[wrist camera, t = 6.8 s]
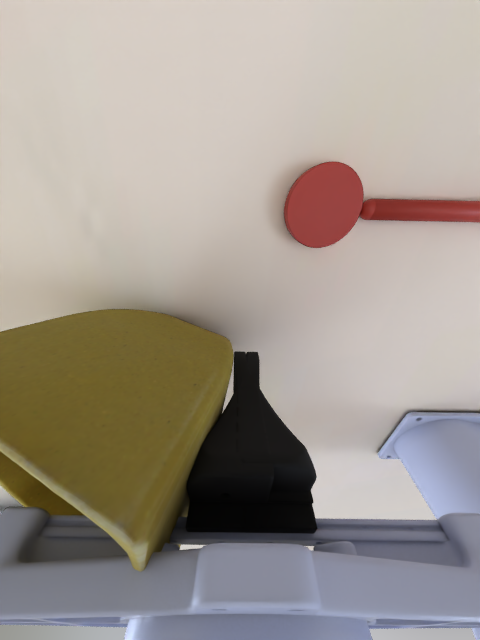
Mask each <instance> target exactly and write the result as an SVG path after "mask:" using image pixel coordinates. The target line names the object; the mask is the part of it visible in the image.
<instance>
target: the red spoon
mask: <svg viewBox="0 0 480 640" xmlns="http://www.w3.org/2000/svg"><path fill="white" fill-rule="evenodd" d="M359 216H360V217H361V218H362V219H364V220H399V221H448V222H480V201H446V200H399V199H369V200H367V201H365V202H364V203H363V187H362V183H361V181H360V178H359V176H358V175H357V173H356V172H355V171H354V170H353V169H352V168H351V167H349V166H348V165H346V164H343V163H340V162H326V163H322V164H319V165H317V166H314V167H312V168H310V169H308V170H307V171H306V172H304V173H303V174H302V175H301V176H300V177H299V178H298V179H297V180H296V181H295V183H294V184H293V185H292V187H291V189H290V191H289V193H288V195H287V198H286V202H285V207H284V218H285V223H286V226H287V229H288V231H289V232H290V234H291V235H292V236H293V237H294V238H295V239H296V240H297V241H298V242H300V243H301V244H303V245H305V246H308V247H313V248H321V247H326V246H329V245H331V244H334V243H336V242H337V241H339V240H340V239H342V238H343V237H344V236H345V235H346V234H347V233H348V232H349V231H350V230H351V229H352V227H353V226H354V225H355V223H356V221H357V219H358V217H359Z"/></svg>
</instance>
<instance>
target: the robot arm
mask: <svg viewBox="0 0 480 640" xmlns="http://www.w3.org/2000/svg"><path fill="white" fill-rule="evenodd" d="M233 390H234V394H233V396H232V398H231V400H230V401H229V403H228V405H227V407H226V408H225V410H224V412H223V413H222V415H221V416H220V418H219V419H218V421H217V422H216V424H215V425H214V427H213V428H212V429H211V431H210V432H209V433H208V435H207V436H206V438H205V440H204V442H203V443H202V445H201V447H200V450H199V452H198V454H197V457H196V459H195V462H194V464H193V467H192V469H191V472H190V475H189V478H188V481H187V492H188V496H189V499H190V503H189V509H188V515H187V517H179V518H178V520H177V523H176V526H175V528H174V529H173V532H172V534H171V536H170V544H169V543H165V544H164V546H163V549H162V551H161V552H154V553H153V554H152V556H151V558H150V560H149V562H148V564H147V566H146V568H145V570H143V571H141V572H140V571H137V570H135V569H134V568H133V566H132V564H131V561H130V559H129V556H128V553H127V552H126V551H125V550H124V549H123V548H122V547H121V546H120V545H119V544H118V543H117V542H116V541H115V540H114V539H113V538H112V537H111V536H110V535H109V534H108V533H107V532H106V531H104V530H103V529H102V528H100V527H99V526H98V525H97V524H95V523H94V522H93V521H91V520H90V519H89V518H88V517H86V516H83V515H50V514H49V513H48V511H46V510H44V509H42V508H38V507H8V508H6V509H5V510H4V511H3V512H2V514H1V515H0V625H52V626H54V625H55V626H96V627H127V630H126V634H125V637H124V640H372V637H371V633H370V630H369V629H380V628H381V629H383V628H384V629H385V628H386V629H388V628H472V631H473V633H474V636H475V639H476V640H480V413H446V412H410V413H408V414H406V416H405V417H404V418H403V420H402V421H401V422H400V424H399V425H398V426H397V428H396V429H395V431H394V432H393V433H392V435H391V436H390V437H389V439H388V440H387V441H386V443H385V444H384V445H383V447H382V448H381V450H380V451H379V452H378V456H379V458H381V459H400V460H401V462H402V463H403V465H404V466H405V468H406V470H407V471H408V473H409V475H410V476H411V478H412V480H413V481H414V483H415V485H416V486H417V488H418V489H419V491H420V493H421V494H422V496H423V498H424V499H425V501H426V503H427V504H428V506H429V508H430V509H431V511H432V512H433V514H434V516H435V517H436V519H437V520H386V519H315V515H314V511H313V507H312V503H313V498H312V494H311V488H312V486H313V484H314V482H315V480H316V472H315V469H314V466H313V463H312V461H311V458H310V456H309V454H308V452H307V449H306V448H305V446H304V445H303V444H302V443H301V442H300V441H299V440H298V439H297V438H296V437H295V436H294V435H293V433H292V432H291V431H290V430H289V429H288V428H287V427H286V425H285V424H284V423H283V422H282V420H281V419H280V418H279V417H278V415H277V414H276V413H275V411H274V410H273V409H272V407H271V406H270V404H269V403H268V401H267V400H266V398H265V397H264V395H263V393H262V392H261V390H260V386H259V356H258V352H247V353H245V352H234V389H233ZM175 544H187V545H206V546H203V548H199V549H188V550H179V549H180V548H179V546H178V545H175ZM305 546H314V548H313V549H314V551H311V550H309V549H308V547H305Z"/></svg>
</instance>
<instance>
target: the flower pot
mask: <svg viewBox="0 0 480 640" xmlns="http://www.w3.org/2000/svg"><path fill="white" fill-rule="evenodd" d="M232 366H233V349H232V345H231V342H230V341H229V340H228V339H227V338H226V337H223V336H221V335H218V334H216V333H213V332H211V331H208V330H206V329H203V328H200V327H198V326H195V325H192V324H190V323H187V322H185V321H182V320H180V319H177V318H175V317H172V316H170V315H167V314H163V313H157V312H151V311H143V310H131V309H108V310H97V311H89V312H83V313H78V314H72V315H68V316H63V317H59V318H55V319H51V320H47V321H43V322H39V323H34V324H30V325H26V326H22V327H18V328H13V329H9V330H6V331H2V332H0V485H1V486H2V487H3V488H4V489H5V490H6V491H7V492H8V493H9V494H10V495H11V496H12V497H13V498H15V499H16V500H17V501H18V502H19V503H20V504H21V505H23V506H24V507H38V508H42V509H44V510H46V511H48V513H49V514H50V515H83V516H86V517H88V518H89V519H90V520H91V521H93V522H94V523H95V524H97V525H98V526H99V527H100V528H102V529H103V530H104V531H106V532H107V533H108V534H109V535H110V536H111V537H112V538H113V539H114V540H115V541H116V542H117V543H118V544H119V545H120V546H121V547H122V548H123V549H124V550H125V551H126V552H127V553H128V556H129V559H130V561H131V564H132V566H133V568H134V569H135V570H137V571H140V572H141V571H143V570H145V568H146V566H147V564H148V562H149V560H150V558H151V556H152V554H153V553H154V552H161V551H162V549H163V546H164V544H165V543H169V544H170V536H171V534H172V532H173V529H174V528H175V526H176V523H177V520H178V518H179V517H187V515H188V509H189V503H190V499H189V496H188V492H187V481H188V478H189V475H190V472H191V469H192V467H193V464H194V462H195V459H196V457H197V454H198V452H199V450H200V447H201V445H202V443H203V442H204V440H205V438H206V436H207V435H208V433H209V432H210V431H211V429H212V428H213V427H214V425H215V424H216V422H217V421H218V419H219V418H220V416H221V415H222V411H223V406H224V401H225V397H226V393H227V388H228V384H229V380H230V376H231V372H232ZM175 545H178V546H179V548H180V545H181V544H175Z"/></svg>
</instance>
